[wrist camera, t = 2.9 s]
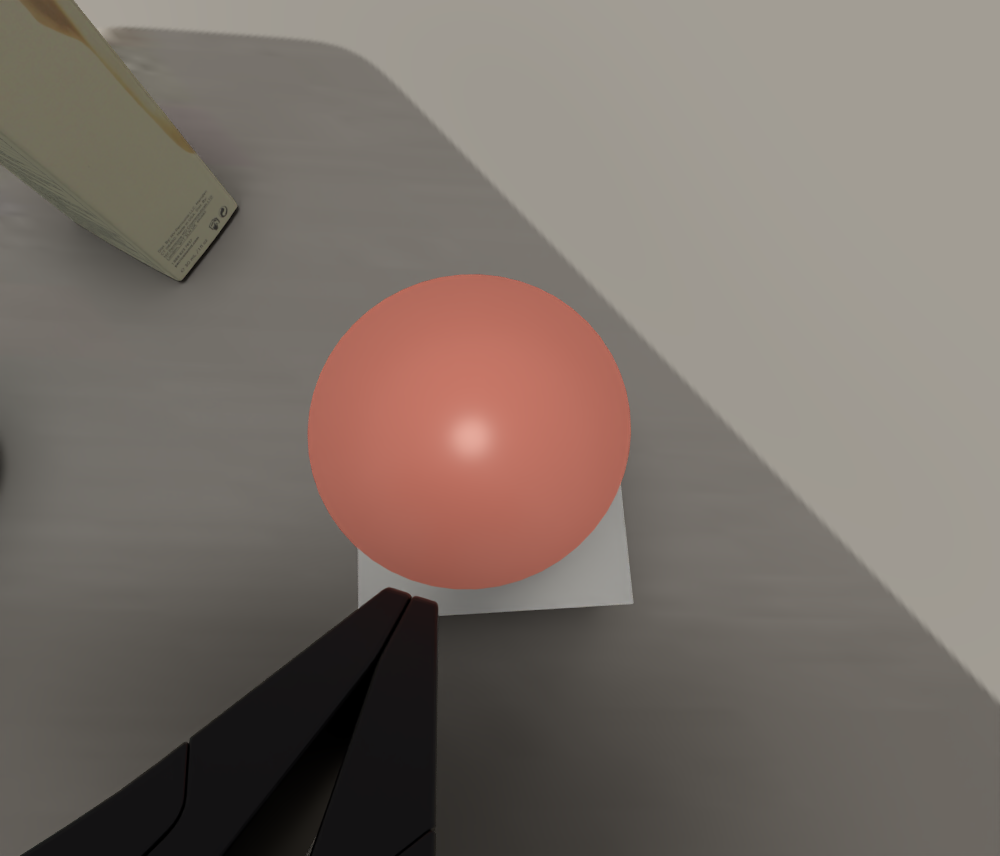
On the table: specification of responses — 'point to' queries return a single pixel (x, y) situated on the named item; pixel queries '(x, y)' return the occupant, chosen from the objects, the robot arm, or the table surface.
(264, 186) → the table surface
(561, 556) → the red plunger
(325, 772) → the robot arm
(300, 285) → the table surface
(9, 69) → the skincare box
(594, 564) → the button housing
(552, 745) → the table surface
